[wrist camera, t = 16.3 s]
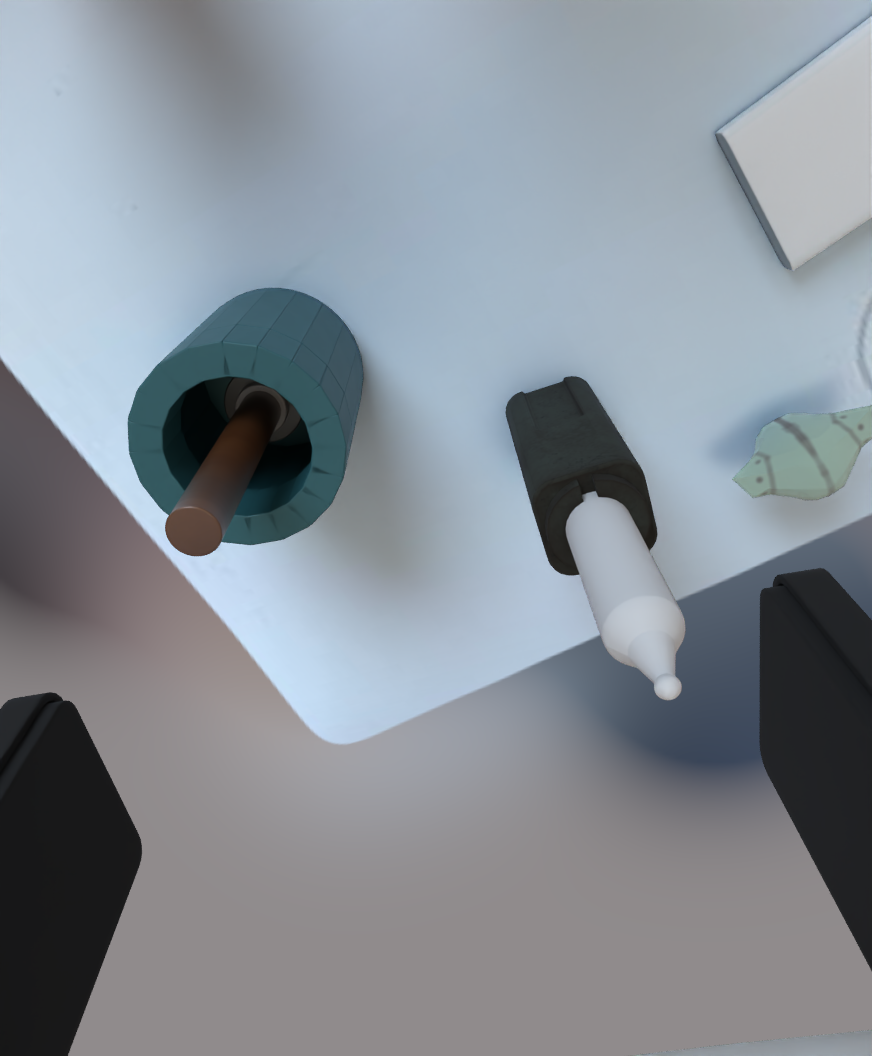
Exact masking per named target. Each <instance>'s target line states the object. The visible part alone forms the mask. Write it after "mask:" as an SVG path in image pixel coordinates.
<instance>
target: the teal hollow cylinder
mask: <svg viewBox="0 0 872 1056" xmlns="http://www.w3.org/2000/svg"><path fill="white" fill-rule="evenodd" d="M233 377H236V378H244V379H251V380H254V381H256V382H258V383H260V384H263V385H265V386H267V387H270V388H272V389H274V390H276V391H277V392H278V393H279V394H280V395H282V396H283V397H284V398H285V399H286V400H288V401H289V402H290V403H291V404H292V405H293V406H294V407H295V409H296V410H297V412H298V413H299V415H300V416H301V418H302V419H301V421H300V423H299V425H298V427H297V428H296V429H295V431H294V432H293V433H292V434H290V435H289V436H287V437H286V438H284V439H281V440H279V441H275V442H268V444H267V446H266V449H265V451H264V453H263V455H262V457H261V459H260V461H259V463H258V465H257V467H256V470H255V472H254V474H253V476H252V478H251V480H250V482H249V484H248V486H247V489H246V491H245V493H244V495H243V497H242V499H241V501H240V503H239V505H238V508H237V510H236V512H235V514H234V516H233V518H232V520H231V522H230V524H229V527H228V529H227V531H226V533H225V535H224V537H223V539H222V541H221V542H226V543H236V544H245V545H255V544H261V543H267V542H272V541H278V540H282V539H285V538H287V537H289V536H291V535H293V534H295V533H297V532H299V531H301V530H303V529H305V528H307V527H309V526H310V525H312V524H313V523H314V522H315V521H316V520H317V518H318V517H319V516H320V515H321V514H322V513H323V512H324V511H325V510H326V509H327V508H328V507H329V506H330V505H331V504H332V502H333V500H334V498H335V495H336V493H337V491H338V489H339V487H340V485H341V483H342V480H343V478H344V474H345V469H346V465H347V460H348V455H349V451H350V446H351V442H352V437H353V433H354V428H355V423H356V419H357V414H358V410H359V405H360V400H361V393H362V385H363V366H362V360H361V355H360V352H359V349H358V346H357V344H356V342H355V339H354V337H353V335H352V334H351V332H350V330H349V329H348V327H347V326H346V325H345V323H344V322H343V321H342V320H341V318H340V317H339V316H338V315H337V314H336V313H334V312H333V311H332V310H331V309H330V308H329V307H327V306H326V305H325V304H323V303H322V302H320V301H318V300H317V299H315V298H313V297H311V296H308V295H306V294H304V293H301V292H297V291H294V290H289V289H282V288H264V289H257V290H253V291H249V292H246V293H244V294H241V295H239V296H237V297H235V298H233V299H232V300H230V301H228V302H227V303H226V304H224V305H222V306H221V307H219V308H218V309H217V310H216V311H215V312H214V313H213V314H212V315H211V316H210V317H208V318H207V319H206V320H205V321H204V322H203V323H202V324H201V325H200V326H199V327H198V328H197V329H195V330H194V331H193V332H192V333H191V334H190V335H189V336H188V337H187V338H186V339H185V340H184V341H183V342H181V343H180V344H179V345H178V346H177V347H176V348H175V349H174V350H173V351H172V352H171V353H170V354H168V355H167V356H166V357H165V358H164V359H163V360H162V361H161V362H160V363H159V364H158V365H157V366H156V367H155V368H154V369H153V371H152V372H151V373H150V374H149V376H148V377H147V378H146V379H145V381H144V382H143V383H142V384H141V385H140V387H139V388H138V390H137V392H136V395H135V398H134V401H133V404H132V408H131V411H130V414H129V417H128V440H129V454H130V457H131V459H132V462H133V465H134V467H135V470H136V472H137V475H138V478H139V480H140V482H141V484H142V485H143V487H144V488H145V489H146V490H147V492H148V493H149V494H150V496H151V497H152V498H153V499H154V501H155V502H156V503H157V505H158V506H159V507H160V508H161V509H162V510H163V511H164V512H165V513H167V514H168V515H170V513H171V512H172V510H173V509H174V507H175V506H176V504H177V502H178V501H179V499H180V498H181V496H182V495H183V493H184V491H185V490H186V488H187V487H188V485H189V484H190V482H191V480H192V479H193V477H194V476H195V474H196V473H197V471H198V469H199V468H200V466H201V465H202V463H203V462H204V460H205V458H206V457H207V455H208V454H209V452H210V451H211V449H212V448H213V446H214V444H215V443H216V441H217V440H218V438H219V437H220V435H221V433H222V432H223V430H224V429H225V427H226V426H227V424H228V422H229V419H228V417H227V414H226V411H225V407H224V395H225V391H226V388H227V386H228V384H229V382H230V381H231V380H232V378H233Z"/></svg>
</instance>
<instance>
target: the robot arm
mask: <svg viewBox="0 0 872 1056" xmlns="http://www.w3.org/2000/svg"><path fill="white" fill-rule="evenodd" d="M760 751H761V756H762V760H763V764H764V767H765V769H766V771H767V774H768V776H769V777H770V779H771V781H772V783H773V785H774V787H775V789H776V791H777V793H778V795H779V796H780V798H781V800H782V802H783V804H784V806H785V808H786V810H787V812H788V813H789V815H790V817H791V819H792V821H793V823H794V825H795V827H796V829H797V831H798V832H799V834H800V836H801V838H802V840H803V842H804V844H805V846H806V848H807V849H808V851H809V853H810V855H811V857H812V859H813V861H814V862H815V865H816V866H817V868H818V870H819V872H820V874H821V876H822V878H823V880H824V882H825V883H826V885H827V887H828V889H829V891H830V893H831V895H832V897H833V898H834V900H835V902H836V904H837V906H838V908H839V910H840V912H841V914H842V916H843V917H844V919H845V921H846V923H847V925H848V927H849V929H850V931H851V932H852V934H853V936H854V938H855V940H856V942H857V944H858V946H859V947H860V950H861V951H862V953H863V955H864V957H865V959H866V961H867V963H868V965H869V966H870V968H871V970H872V620H871V619H870V618H869V617H868V616H867V614H866V613H865V612H864V611H863V610H862V609H861V608H860V607H859V606H858V604H856V602H855V601H854V600H853V599H852V598H851V597H850V596H849V594H847V592H846V591H845V590H844V589H843V588H842V587H841V586H840V584H839V583H838V582H837V581H836V580H835V579H834V578H833V577H832V576H831V574H830V573H829V572H827V571H826V570H825V569H822V568H818V569H812V570H805V571H799V572H793V573H787V574H781V575H777V576H776V577H775V579H774V582H773V587H770V588H764V589H763V590H762V591H761V594H760ZM141 856H142V845H141V839H140V837H139V834H138V832H137V830H136V828H135V826H134V824H133V822H132V820H131V818H130V816H129V814H128V812H127V810H126V808H125V806H124V804H123V802H122V800H121V798H120V795H119V794H118V791H117V789H116V787H115V785H114V784H113V781H112V779H111V777H110V775H109V773H108V771H107V769H106V767H105V765H104V763H103V761H102V759H101V757H100V755H99V753H98V751H97V749H96V747H95V745H94V743H93V741H92V739H91V737H90V735H89V733H88V731H87V729H86V727H85V725H84V723H83V721H82V719H81V716H80V714H79V713H78V710H77V709H76V707H75V705H74V704H73V703H71V702H70V701H63V699H62V698H61V697H60V696H59V695H57V694H56V693H44V694H38V695H31V696H25V697H19V698H14V699H11V700H8V701H7V702H6V703H5V704H4V705H3V706H2V708H1V709H0V1056H68V1053H69V1051H70V1048H71V1045H72V1043H73V1040H74V1037H75V1035H76V1032H77V1029H78V1027H79V1024H80V1022H81V1019H82V1016H83V1014H84V1011H85V1008H86V1006H87V1003H88V1000H89V998H90V995H91V992H92V990H93V987H94V985H95V982H96V979H97V977H98V974H99V971H100V968H101V966H102V963H103V961H104V958H105V955H106V953H107V950H108V947H109V945H110V942H111V940H112V937H113V934H114V931H115V929H116V926H117V924H118V921H119V918H120V916H121V913H122V910H123V908H124V905H125V902H126V900H127V897H128V895H129V892H130V889H131V887H132V884H133V881H134V879H135V876H136V873H137V871H138V868H139V865H140V861H141ZM633 1056H872V1030H867V1031H857V1032H847V1033H837V1034H828V1035H817V1036H807V1037H797V1038H787V1039H777V1040H767V1041H756V1042H746V1043H737V1044H727V1045H718V1046H709V1047H701V1048H692V1049H684V1050H675V1051H666V1052H658V1053H649V1054H641V1055H633Z"/></svg>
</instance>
